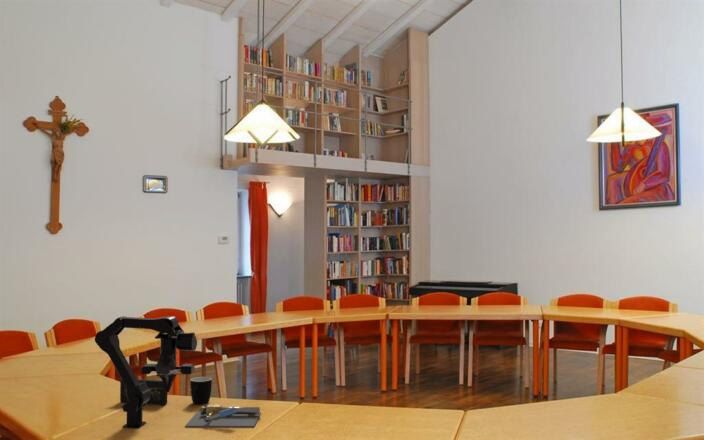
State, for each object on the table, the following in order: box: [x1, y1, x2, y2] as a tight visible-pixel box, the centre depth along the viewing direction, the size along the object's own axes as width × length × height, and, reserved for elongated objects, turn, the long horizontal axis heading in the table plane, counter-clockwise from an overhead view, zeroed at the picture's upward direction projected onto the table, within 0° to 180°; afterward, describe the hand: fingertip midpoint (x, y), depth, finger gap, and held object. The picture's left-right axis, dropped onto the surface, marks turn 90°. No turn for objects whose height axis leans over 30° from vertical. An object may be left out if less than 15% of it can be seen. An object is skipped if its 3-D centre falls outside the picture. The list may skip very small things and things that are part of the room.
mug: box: [189, 376, 213, 406], centre depth 265 cm, size 12×9×10 cm
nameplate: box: [119, 378, 168, 406], centre depth 265 cm, size 21×2×10 cm, turn 79°
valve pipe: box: [199, 403, 261, 417], centre depth 241 cm, size 23×12×4 cm, turn 90°
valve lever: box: [204, 406, 236, 422], centre depth 234 cm, size 2×2×12 cm
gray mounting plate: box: [184, 411, 262, 429], centre depth 241 cm, size 26×18×1 cm
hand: (168, 391), depth 233 cm, fingers closed
